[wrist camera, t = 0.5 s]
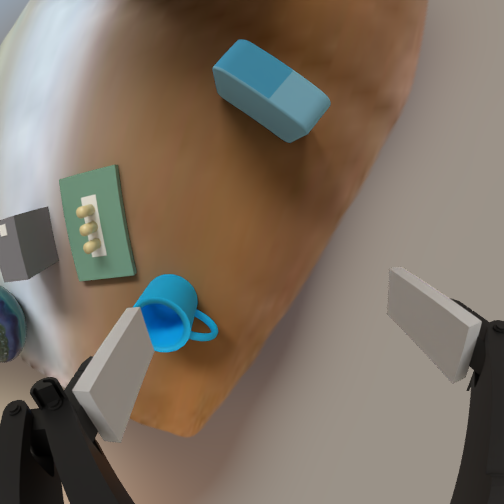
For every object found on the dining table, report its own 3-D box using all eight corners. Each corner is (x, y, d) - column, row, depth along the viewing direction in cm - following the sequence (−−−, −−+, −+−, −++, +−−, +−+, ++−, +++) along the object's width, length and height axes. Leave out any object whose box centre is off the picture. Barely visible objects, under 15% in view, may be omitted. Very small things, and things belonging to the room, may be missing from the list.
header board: (63, 179, 36) (48, 181, 32) (117, 164, 36) (105, 164, 32) (82, 278, 40) (70, 288, 36) (136, 272, 41) (127, 282, 37)
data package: (307, 120, 37) (335, 101, 25) (288, 144, 37) (310, 133, 26) (236, 71, 34) (238, 34, 23) (216, 94, 35) (210, 64, 23)
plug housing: (24, 213, 37) (-11, 223, 28) (47, 206, 37) (13, 216, 28) (35, 264, 39) (4, 282, 31) (59, 260, 39) (28, 279, 31)
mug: (139, 309, 42) (122, 336, 35) (155, 265, 41) (138, 286, 33) (209, 339, 44) (205, 371, 37) (230, 297, 43) (229, 325, 35)
